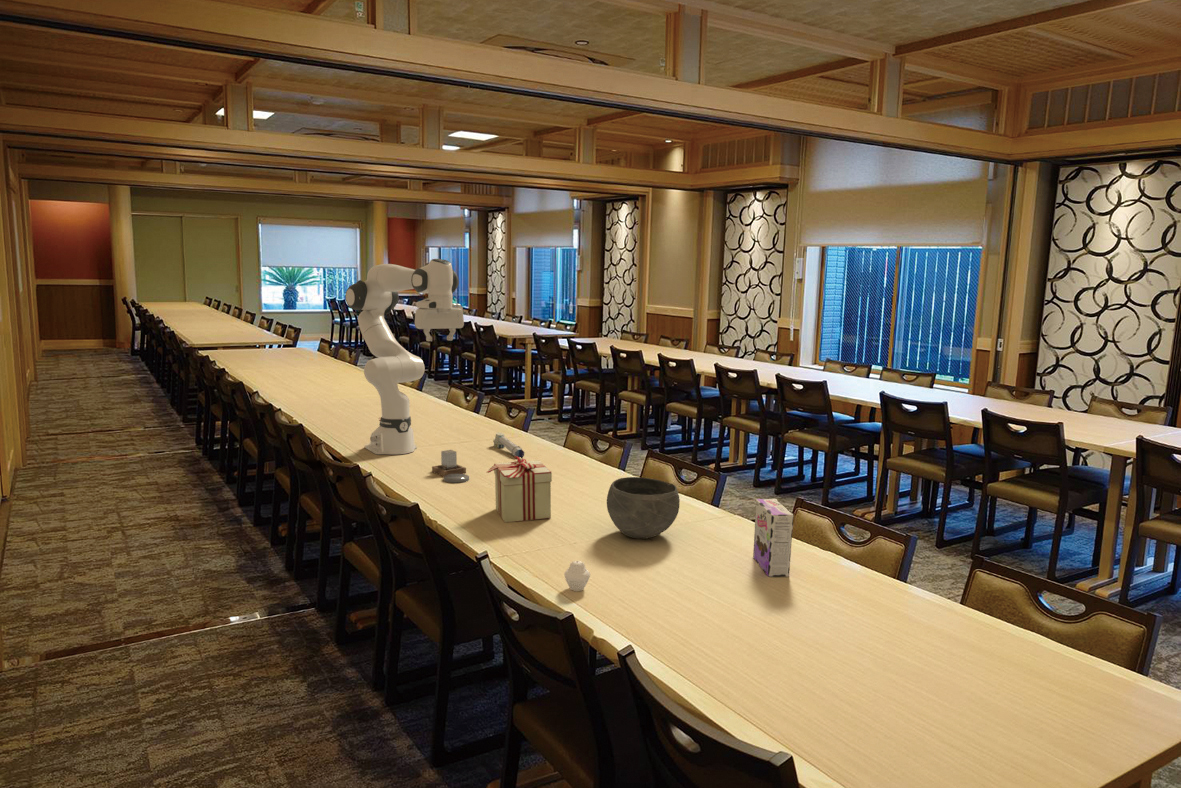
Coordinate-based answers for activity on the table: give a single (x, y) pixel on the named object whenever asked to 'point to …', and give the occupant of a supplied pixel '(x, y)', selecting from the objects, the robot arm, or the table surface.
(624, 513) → the bowl
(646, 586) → the table surface
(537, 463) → the gift box
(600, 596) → the table surface
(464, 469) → the socket
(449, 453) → the steel block
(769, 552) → the candy box
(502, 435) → the grey flashlight
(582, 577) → the beige stone rounded piece
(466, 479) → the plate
